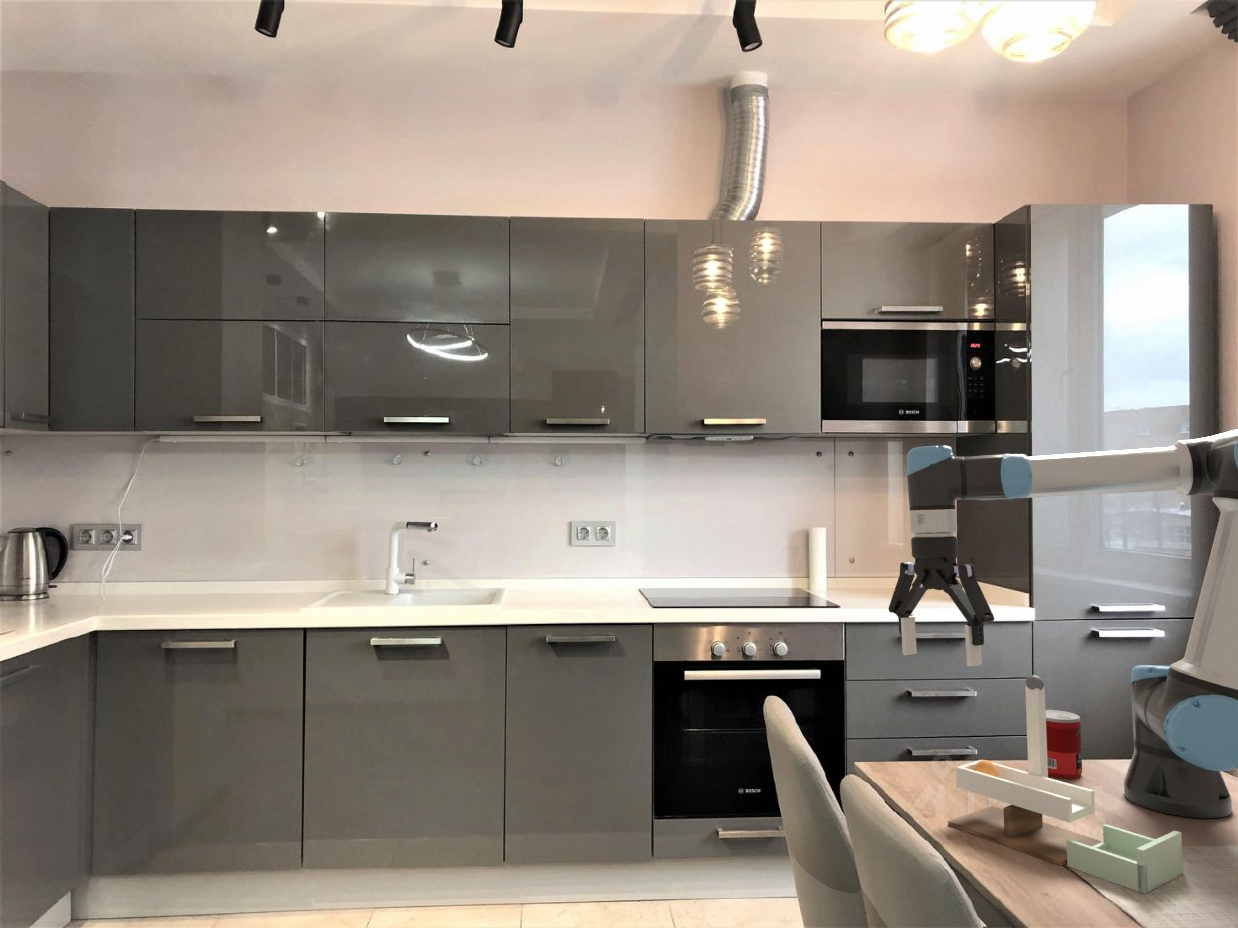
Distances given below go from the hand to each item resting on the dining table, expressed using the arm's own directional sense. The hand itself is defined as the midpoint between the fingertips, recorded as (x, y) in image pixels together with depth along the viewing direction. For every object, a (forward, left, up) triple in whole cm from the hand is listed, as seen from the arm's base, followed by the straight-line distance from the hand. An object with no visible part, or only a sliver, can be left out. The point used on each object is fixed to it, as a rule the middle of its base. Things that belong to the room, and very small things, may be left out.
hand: (940, 659), depth 138 cm
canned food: (-25, -22, -25) cm, 42 cm away
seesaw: (-10, +10, -19) cm, 24 cm away
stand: (-9, +11, -25) cm, 28 cm away
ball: (-5, +7, -16) cm, 18 cm away
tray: (-19, +22, -25) cm, 38 cm away
